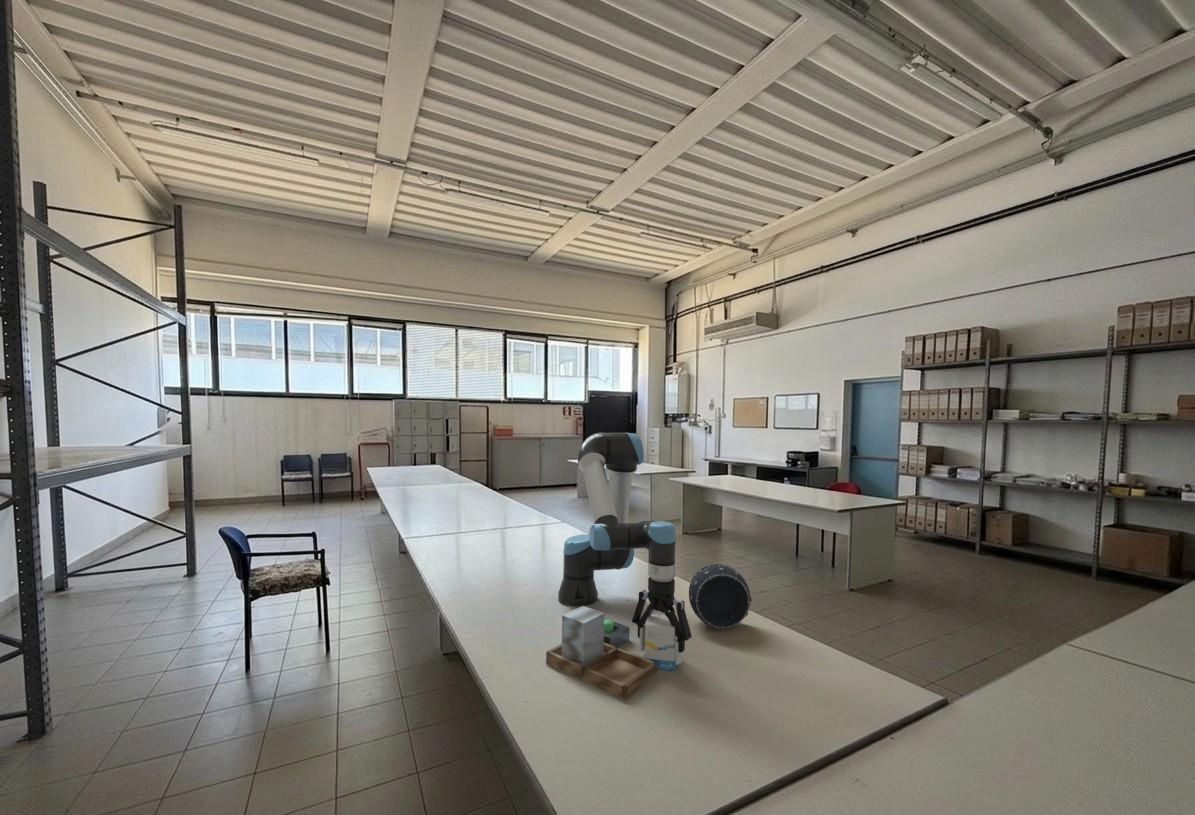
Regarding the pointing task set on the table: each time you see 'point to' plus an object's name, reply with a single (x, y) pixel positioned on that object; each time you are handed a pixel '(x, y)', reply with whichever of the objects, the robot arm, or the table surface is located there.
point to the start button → (608, 625)
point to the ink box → (660, 641)
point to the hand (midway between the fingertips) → (660, 656)
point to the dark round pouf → (719, 596)
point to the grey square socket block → (617, 635)
